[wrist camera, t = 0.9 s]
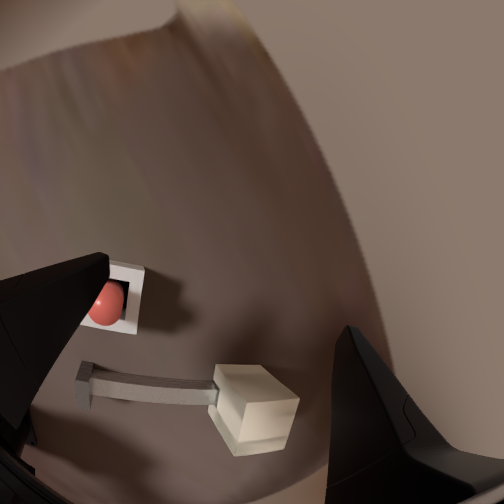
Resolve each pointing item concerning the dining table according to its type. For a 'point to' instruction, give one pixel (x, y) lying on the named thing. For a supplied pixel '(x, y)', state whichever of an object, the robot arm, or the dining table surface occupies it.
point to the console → (131, 312)
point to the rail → (141, 388)
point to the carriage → (252, 409)
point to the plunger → (108, 304)
